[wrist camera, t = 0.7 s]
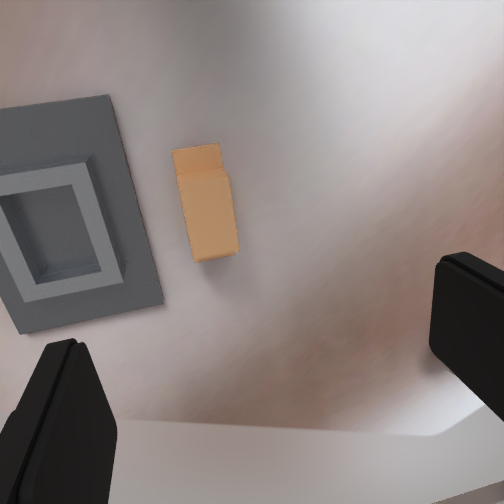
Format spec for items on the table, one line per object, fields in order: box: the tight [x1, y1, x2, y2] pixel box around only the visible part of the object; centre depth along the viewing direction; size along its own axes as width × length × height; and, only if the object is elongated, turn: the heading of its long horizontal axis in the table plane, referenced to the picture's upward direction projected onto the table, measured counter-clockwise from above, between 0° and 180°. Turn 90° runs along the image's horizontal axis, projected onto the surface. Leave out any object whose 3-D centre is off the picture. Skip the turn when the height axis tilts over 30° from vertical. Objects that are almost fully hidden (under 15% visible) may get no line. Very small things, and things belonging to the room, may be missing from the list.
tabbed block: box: [171, 143, 240, 263], centre depth 33 cm, size 10×4×6 cm, turn 6°
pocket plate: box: [0, 95, 164, 335], centre depth 32 cm, size 20×14×3 cm
